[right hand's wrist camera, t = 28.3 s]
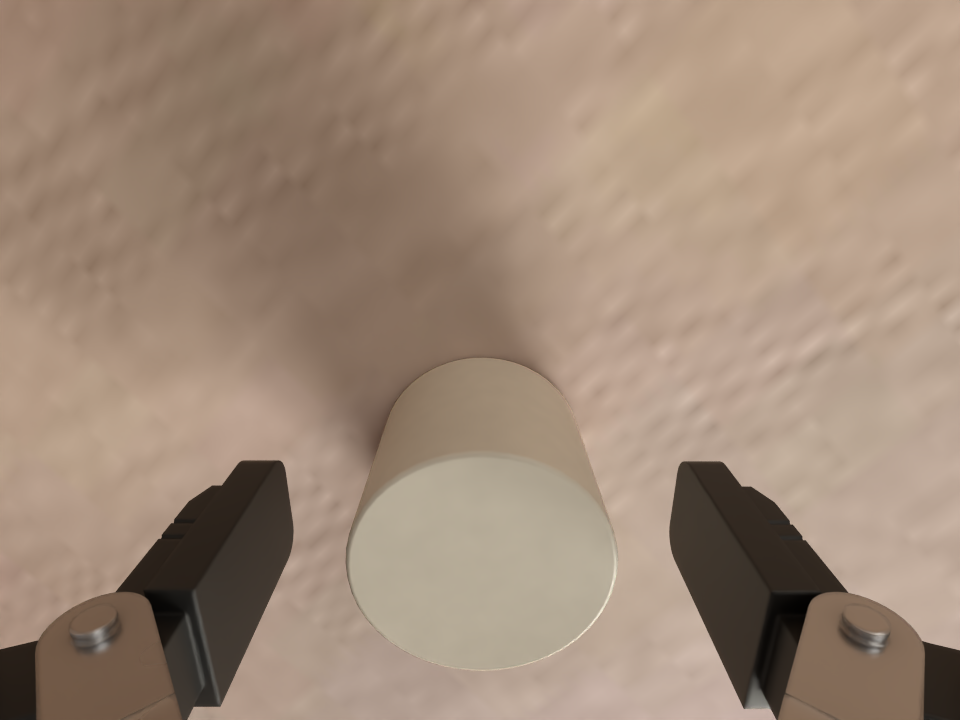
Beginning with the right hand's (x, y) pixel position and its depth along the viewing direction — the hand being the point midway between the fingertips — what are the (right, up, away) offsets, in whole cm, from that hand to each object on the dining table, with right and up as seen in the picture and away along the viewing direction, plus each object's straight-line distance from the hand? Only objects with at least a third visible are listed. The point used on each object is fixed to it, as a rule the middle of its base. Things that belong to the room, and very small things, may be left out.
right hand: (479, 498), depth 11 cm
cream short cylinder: (0, +1, +2) cm, 2 cm away
